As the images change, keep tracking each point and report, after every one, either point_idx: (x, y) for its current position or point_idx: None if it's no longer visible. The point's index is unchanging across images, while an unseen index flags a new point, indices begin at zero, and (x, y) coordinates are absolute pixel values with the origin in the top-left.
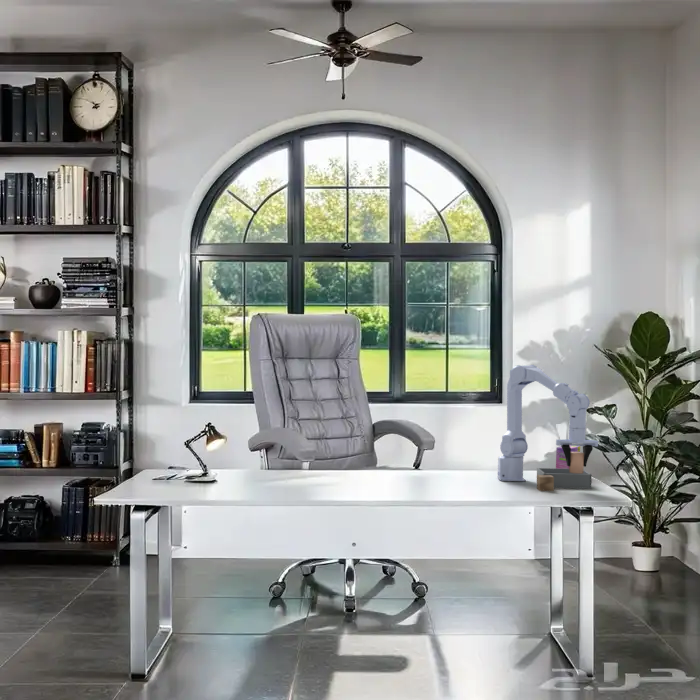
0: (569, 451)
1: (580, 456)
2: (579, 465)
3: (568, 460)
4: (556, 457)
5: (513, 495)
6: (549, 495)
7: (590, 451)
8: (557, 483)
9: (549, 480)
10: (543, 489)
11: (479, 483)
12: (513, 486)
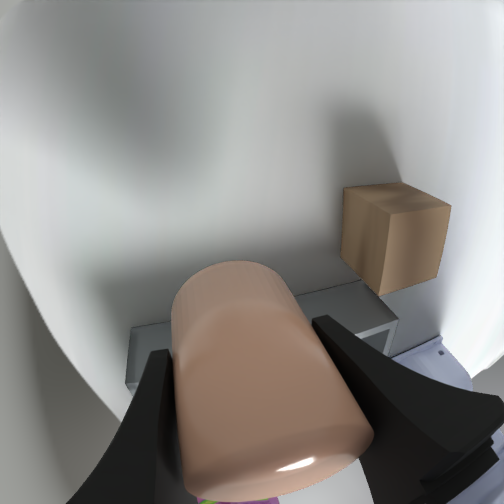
0: (427, 414)
1: (234, 409)
2: (223, 312)
3: (361, 342)
4: (277, 499)
5: (483, 69)
6: (381, 54)
7: (81, 498)
8: (309, 307)
9: (398, 203)
10: (391, 185)
11: (492, 276)
12: (449, 259)
